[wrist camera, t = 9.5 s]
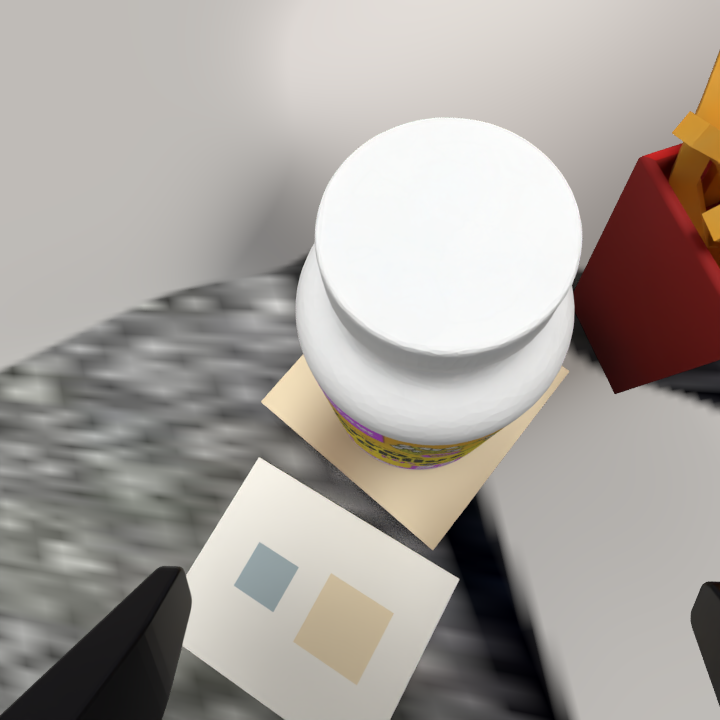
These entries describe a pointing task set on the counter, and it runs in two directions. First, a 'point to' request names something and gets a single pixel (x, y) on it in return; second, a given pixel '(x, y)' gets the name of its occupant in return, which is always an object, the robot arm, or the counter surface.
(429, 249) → the supplement bottle
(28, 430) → the counter surface
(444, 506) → the base block
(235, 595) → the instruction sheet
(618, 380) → the french fries
